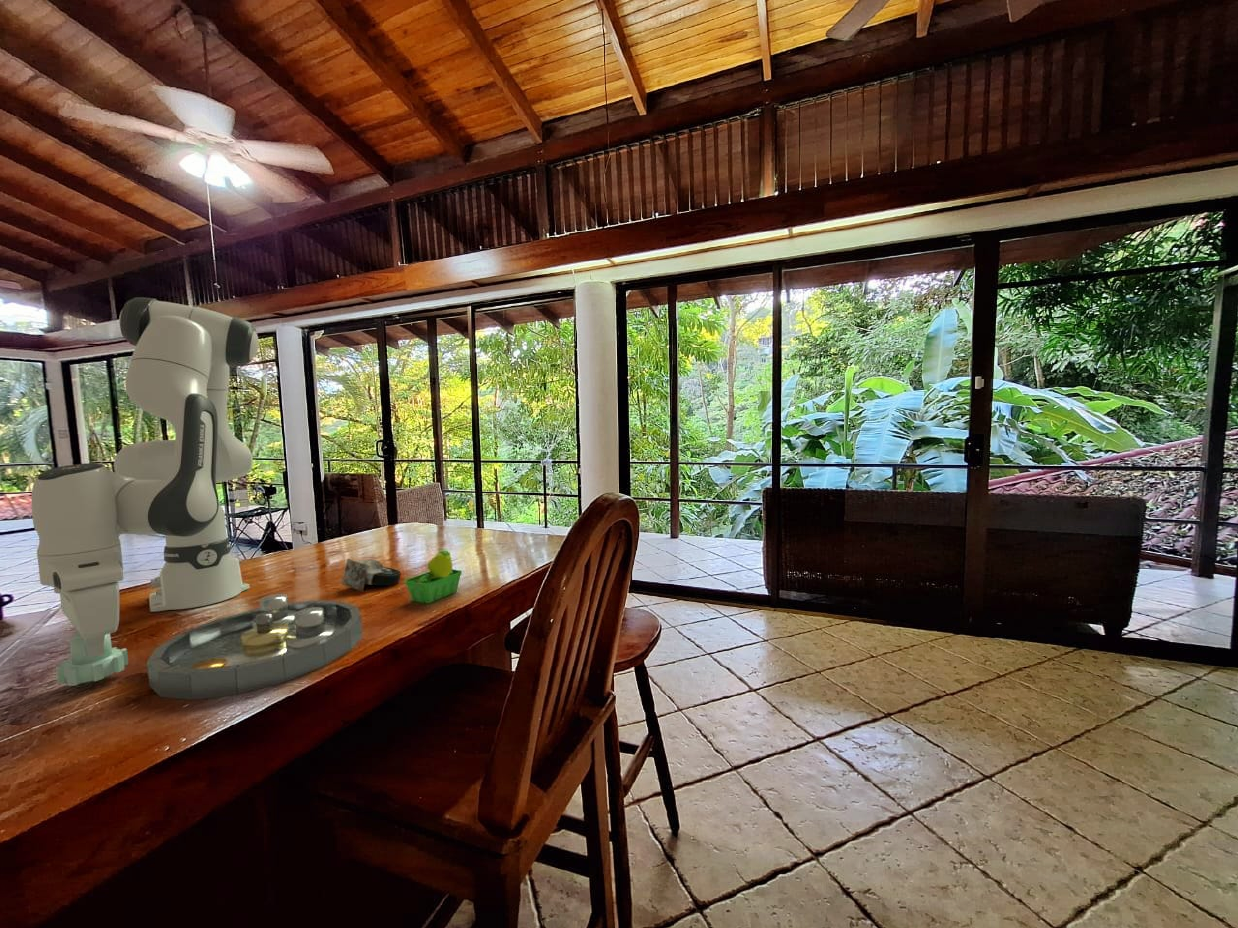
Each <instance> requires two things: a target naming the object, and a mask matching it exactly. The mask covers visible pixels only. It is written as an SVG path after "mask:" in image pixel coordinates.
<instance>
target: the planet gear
mask: <svg viewBox="0 0 1238 928" xmlns="http://www.w3.org/2000/svg"><path fill="white" fill-rule="evenodd" d="M111 639H112V638H111V633H110V634H106V635H105V639H104V650H105V651H104V653H103V654H101V655H98V656H95V657H89V656H88V655H87V654H86V646H85V645H86V642H85V639H84V638H83V637H82V636H81V634H80V633H79V634H74V635H72V636H70V637H69V639H68V640H69V641H68V642H69V648H70V649H69V650H70V658H67V659H65V660H63V661H61V662H60V666H57V667H55V673H56V674H55V675H56V682H57V686H59V685H64V684H66V685H67V687H73V686H77V685H79V684H83V683H89V682H92V681H93V682H97V681H100V680H103V679H105V677H108V676H111V675H112V674H115V673H120V672H122V671H124V670H125V666H127V665H129V656H128V649H127V648H126V647H124V648H121V649H120V648H118V647H117V646H115V647H112V646H113V645H112V640H111Z"/></svg>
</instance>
